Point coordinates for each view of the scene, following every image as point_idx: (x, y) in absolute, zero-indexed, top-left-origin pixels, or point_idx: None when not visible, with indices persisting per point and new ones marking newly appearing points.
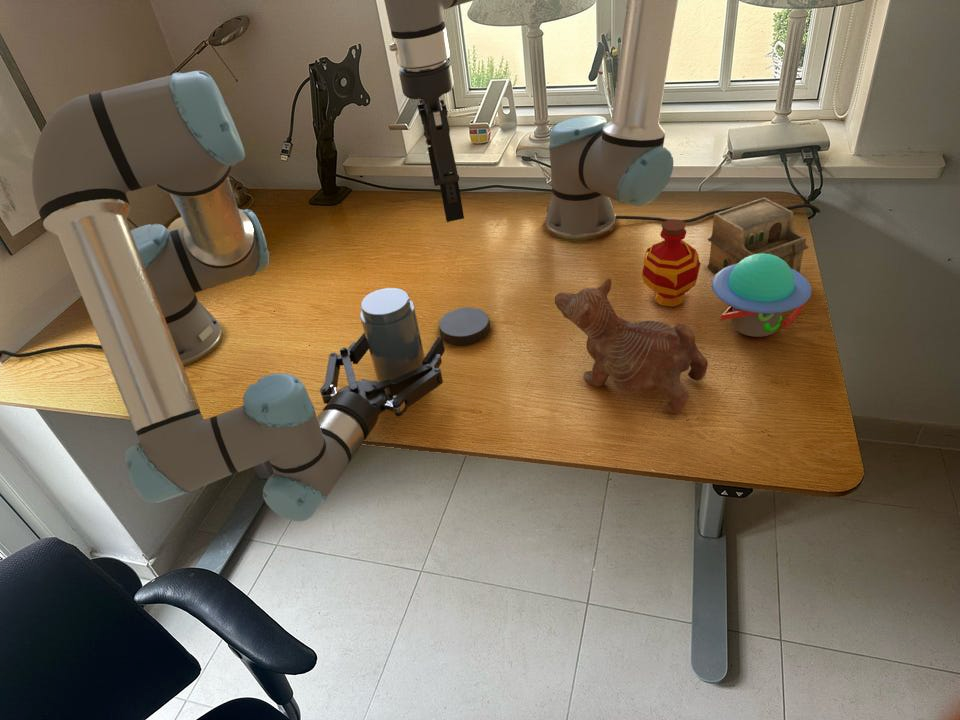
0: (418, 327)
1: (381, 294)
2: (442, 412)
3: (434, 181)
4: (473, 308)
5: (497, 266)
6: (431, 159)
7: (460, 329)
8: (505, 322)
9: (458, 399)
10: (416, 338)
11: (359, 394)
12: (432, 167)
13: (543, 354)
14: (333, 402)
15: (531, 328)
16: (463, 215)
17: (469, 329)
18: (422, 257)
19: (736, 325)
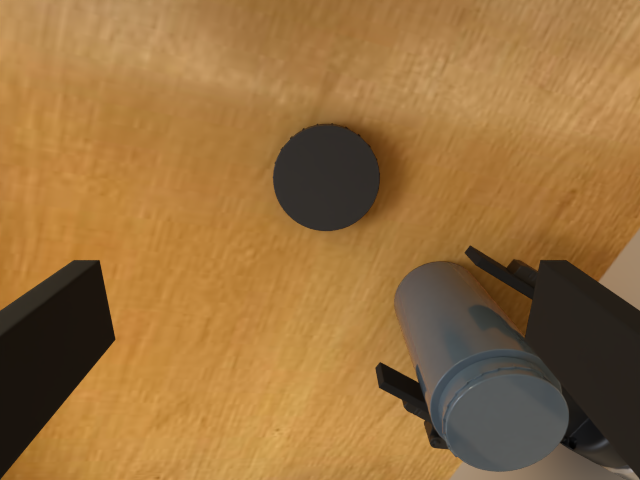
0: (485, 316)
1: (474, 430)
2: (542, 252)
3: (102, 354)
4: (285, 151)
5: (82, 52)
6: (7, 459)
7: (352, 191)
8: (326, 86)
9: (523, 222)
10: (507, 319)
11: (572, 408)
12: (48, 412)
13: (469, 31)
14: (624, 462)
15: (369, 32)
16: (575, 268)
17: (360, 174)
18: (8, 222)
19: None
